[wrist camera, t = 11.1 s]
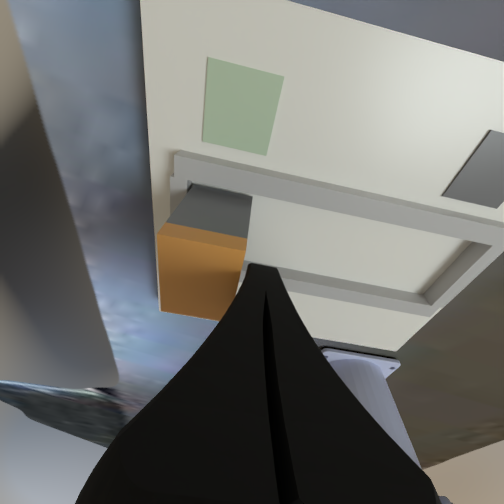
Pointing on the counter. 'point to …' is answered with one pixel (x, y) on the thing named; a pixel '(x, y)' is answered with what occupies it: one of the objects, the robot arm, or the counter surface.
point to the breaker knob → (203, 252)
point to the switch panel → (331, 154)
